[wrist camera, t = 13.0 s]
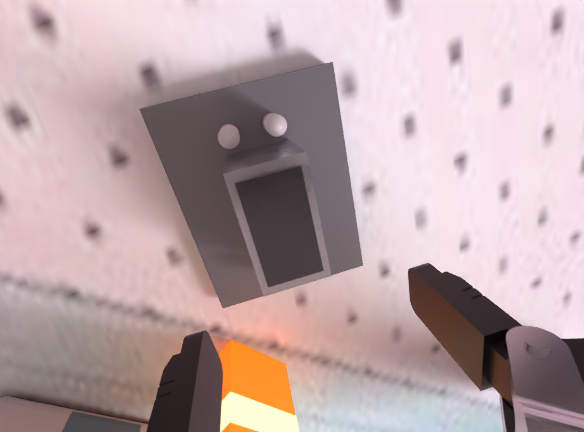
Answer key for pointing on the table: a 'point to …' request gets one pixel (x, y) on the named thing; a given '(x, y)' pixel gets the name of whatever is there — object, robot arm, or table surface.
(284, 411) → the orange juice
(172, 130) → the pin tray
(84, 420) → the stereo radio cassette player
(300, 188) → the grey boxy piece
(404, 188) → the table surface
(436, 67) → the table surface
